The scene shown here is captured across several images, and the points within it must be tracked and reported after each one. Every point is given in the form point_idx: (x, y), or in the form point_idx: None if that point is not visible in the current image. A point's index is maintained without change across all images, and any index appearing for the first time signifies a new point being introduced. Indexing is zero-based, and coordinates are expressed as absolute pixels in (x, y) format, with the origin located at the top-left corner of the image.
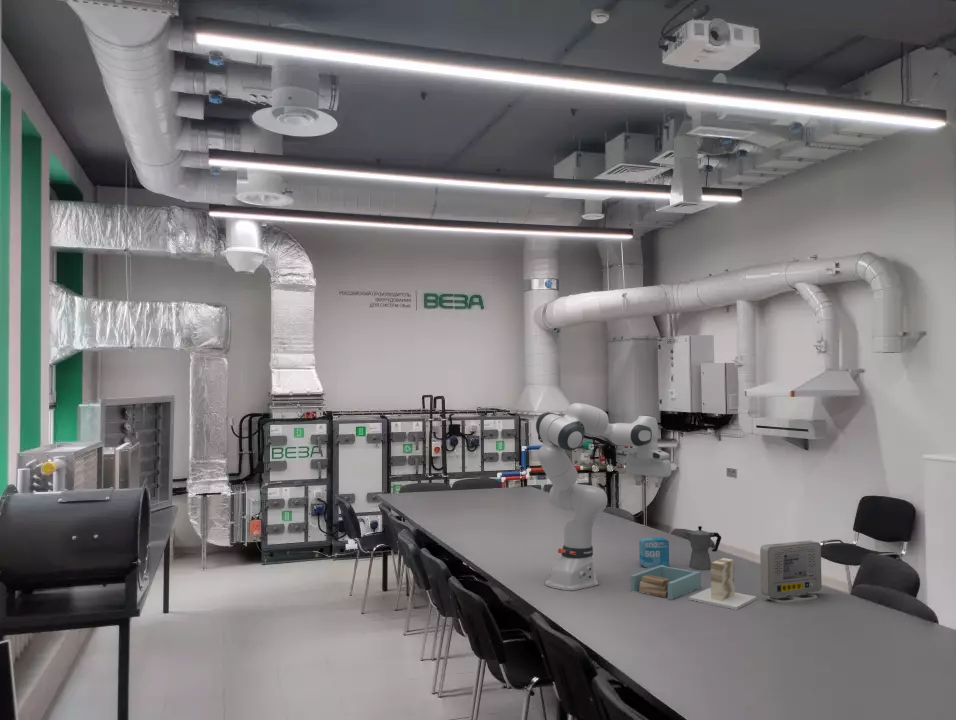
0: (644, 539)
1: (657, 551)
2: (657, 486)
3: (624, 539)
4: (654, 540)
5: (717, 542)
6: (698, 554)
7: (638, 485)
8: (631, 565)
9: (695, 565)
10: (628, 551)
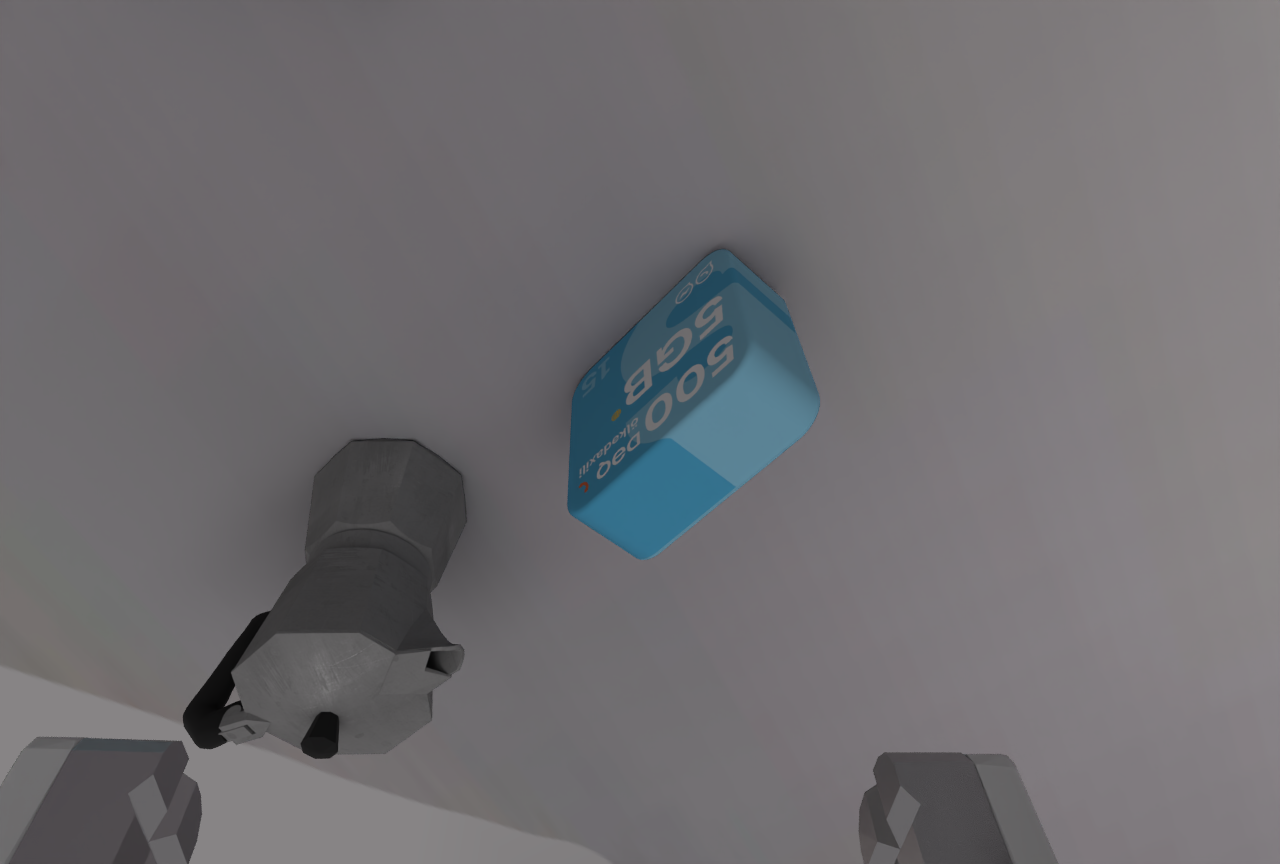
0: (760, 400)
1: (640, 392)
2: (63, 756)
3: (1106, 798)
4: (665, 433)
5: (222, 672)
6: (349, 522)
7: (898, 758)
8: (840, 253)
9: (387, 457)
10: (999, 591)
